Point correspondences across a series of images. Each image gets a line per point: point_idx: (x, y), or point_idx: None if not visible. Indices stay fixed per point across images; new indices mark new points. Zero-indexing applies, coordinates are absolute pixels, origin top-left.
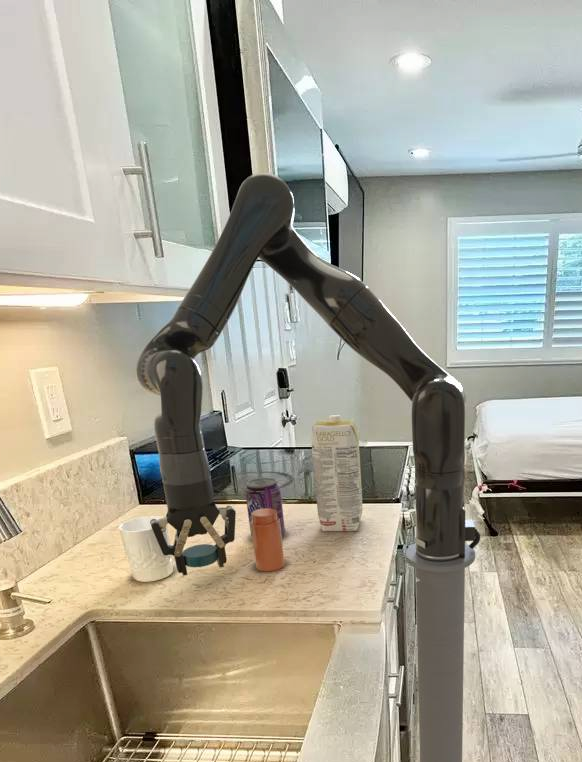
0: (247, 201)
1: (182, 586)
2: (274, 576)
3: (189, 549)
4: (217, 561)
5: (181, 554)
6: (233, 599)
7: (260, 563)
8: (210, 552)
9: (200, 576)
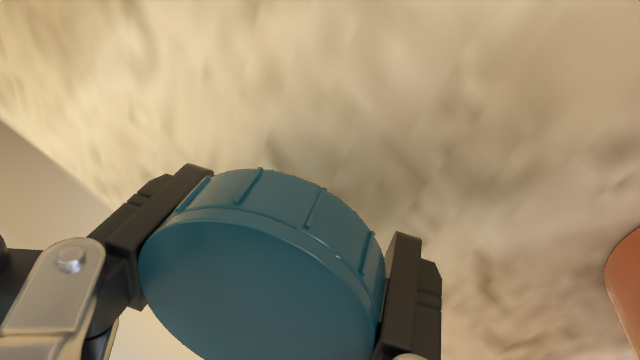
0: None
1: (223, 127)
2: (583, 349)
3: (189, 256)
4: (391, 248)
5: (118, 321)
6: None
7: (620, 314)
8: None
9: (333, 88)
